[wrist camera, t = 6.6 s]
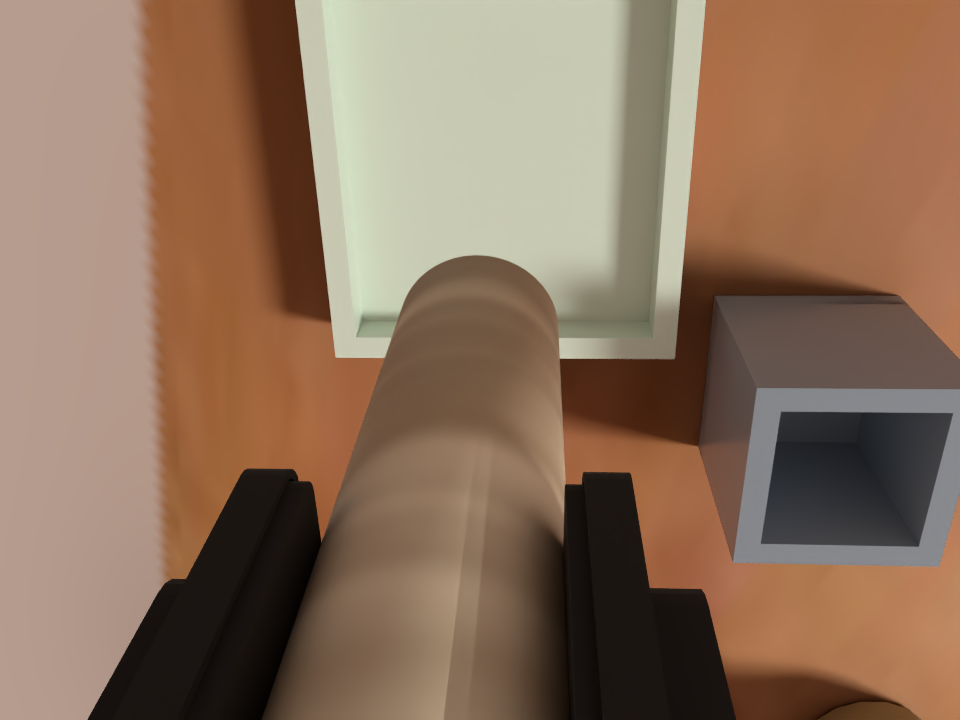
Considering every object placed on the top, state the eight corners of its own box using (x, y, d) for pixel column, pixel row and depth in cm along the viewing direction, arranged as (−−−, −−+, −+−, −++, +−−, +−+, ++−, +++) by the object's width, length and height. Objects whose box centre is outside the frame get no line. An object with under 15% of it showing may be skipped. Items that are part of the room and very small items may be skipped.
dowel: (394, 255, 16) (97, 973, 5) (559, 254, 16) (603, 998, 5) (405, 398, 17) (188, 1196, 7) (557, 398, 17) (589, 1221, 6)
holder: (714, 295, 32) (756, 387, 26) (899, 295, 31) (987, 389, 25) (698, 446, 35) (733, 562, 29) (866, 448, 34) (938, 566, 28)
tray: (307, -82, 27) (285, -81, 25) (698, -93, 26) (713, -94, 24) (349, 326, 33) (335, 357, 31) (665, 327, 33) (674, 359, 30)
